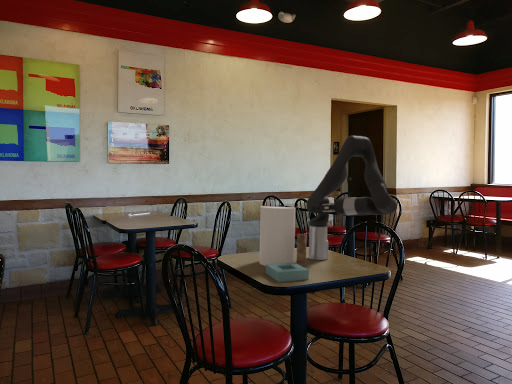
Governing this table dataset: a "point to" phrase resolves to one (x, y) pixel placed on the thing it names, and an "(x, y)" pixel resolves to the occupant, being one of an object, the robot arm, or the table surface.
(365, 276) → the table surface
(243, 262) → the table surface
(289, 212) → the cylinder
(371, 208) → the robot arm
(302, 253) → the walnut peg
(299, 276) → the collar
